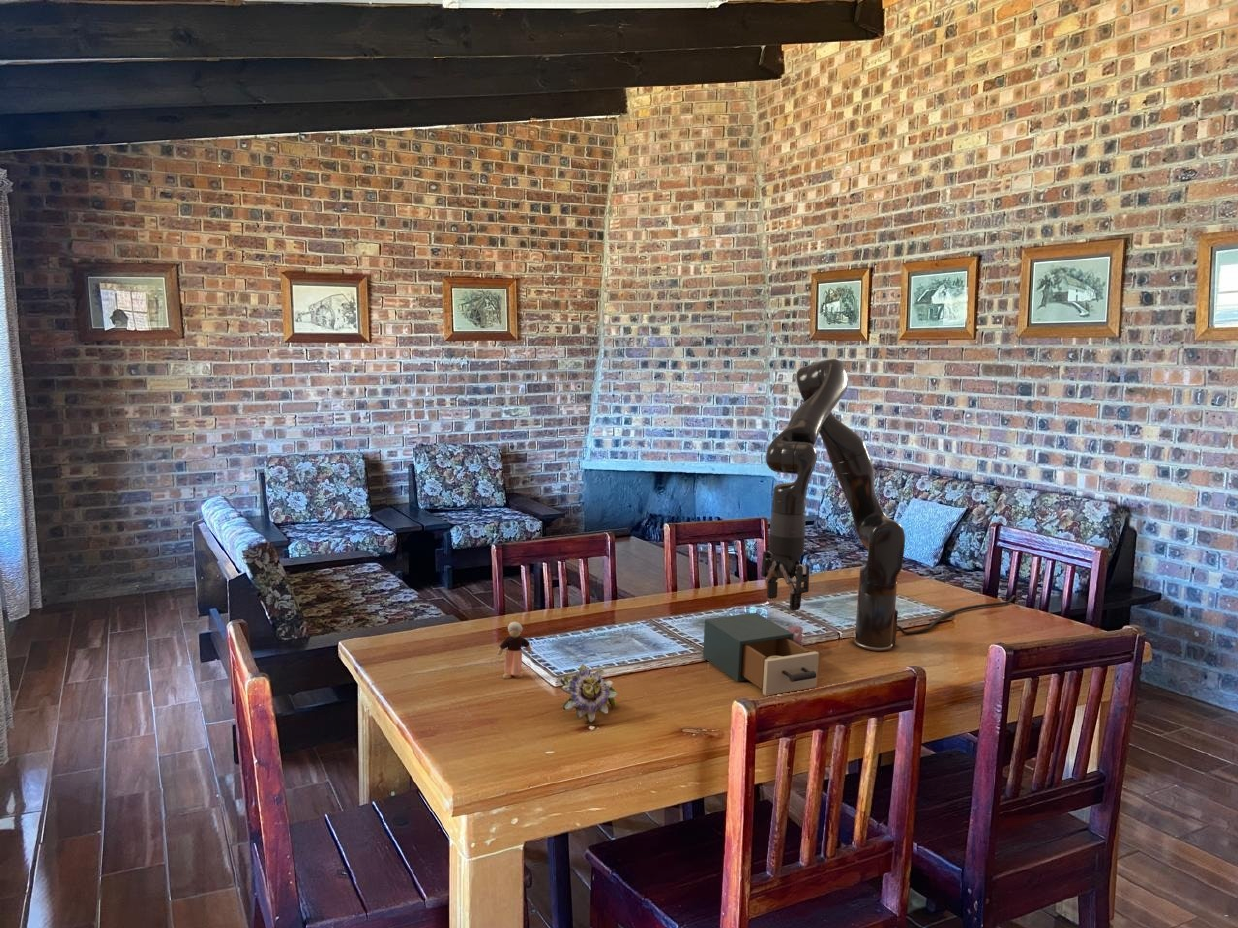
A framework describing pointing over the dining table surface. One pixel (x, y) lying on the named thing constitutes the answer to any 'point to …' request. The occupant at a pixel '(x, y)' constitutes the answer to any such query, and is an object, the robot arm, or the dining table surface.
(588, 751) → the dining table surface
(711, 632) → the cabinet
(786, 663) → the drawer
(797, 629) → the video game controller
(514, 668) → the grandmother figurine
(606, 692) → the passion flower
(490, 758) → the dining table surface
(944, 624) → the dining table surface
